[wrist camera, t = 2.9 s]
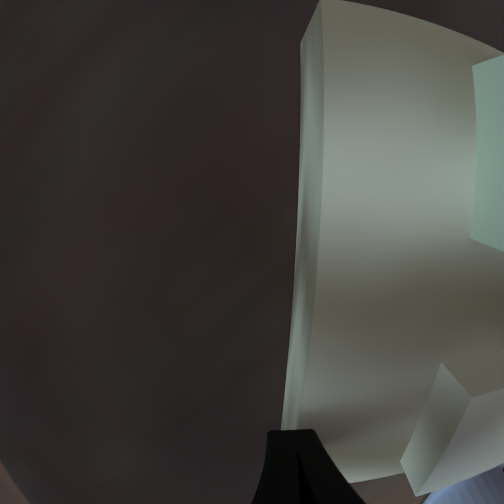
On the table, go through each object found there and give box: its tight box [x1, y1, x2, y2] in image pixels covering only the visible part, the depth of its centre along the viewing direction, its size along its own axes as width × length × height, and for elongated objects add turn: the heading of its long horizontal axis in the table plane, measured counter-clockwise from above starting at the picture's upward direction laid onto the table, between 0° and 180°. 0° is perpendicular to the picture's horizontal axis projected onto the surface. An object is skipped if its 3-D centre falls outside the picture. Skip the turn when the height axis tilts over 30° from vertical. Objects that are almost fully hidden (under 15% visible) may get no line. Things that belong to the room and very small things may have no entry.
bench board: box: [281, 0, 504, 483], centre depth 10 cm, size 16×13×4 cm
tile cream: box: [400, 350, 504, 497], centre depth 8 cm, size 5×5×2 cm
